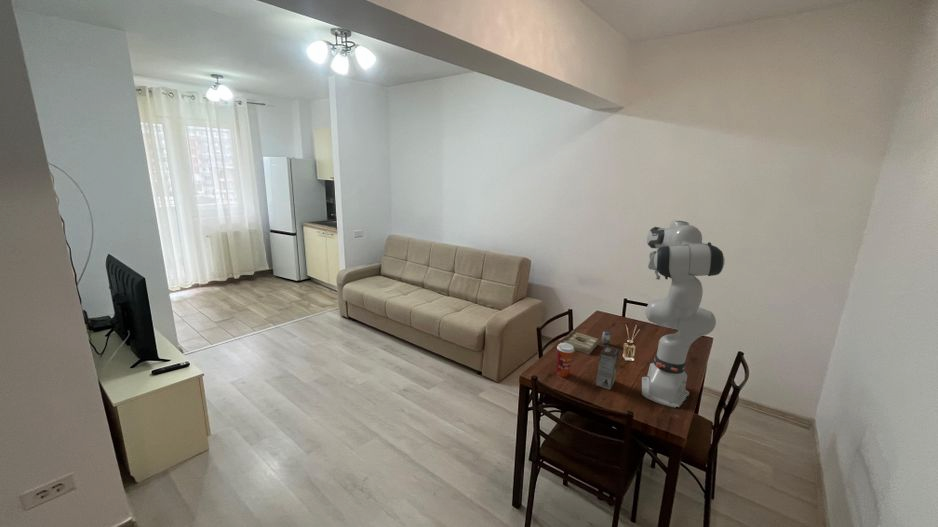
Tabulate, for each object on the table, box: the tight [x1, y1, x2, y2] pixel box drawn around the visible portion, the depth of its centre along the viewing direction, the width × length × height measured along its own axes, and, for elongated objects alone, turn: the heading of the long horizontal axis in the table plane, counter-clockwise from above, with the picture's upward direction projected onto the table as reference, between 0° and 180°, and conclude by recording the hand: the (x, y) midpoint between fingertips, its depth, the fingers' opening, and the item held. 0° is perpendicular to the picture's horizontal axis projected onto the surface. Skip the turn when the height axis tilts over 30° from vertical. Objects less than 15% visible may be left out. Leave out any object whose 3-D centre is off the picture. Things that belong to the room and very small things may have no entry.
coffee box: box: [595, 345, 621, 390], centre depth 163 cm, size 9×6×16 cm
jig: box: [563, 329, 599, 355], centre depth 199 cm, size 14×14×5 cm
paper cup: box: [555, 342, 575, 378], centre depth 169 cm, size 8×8×14 cm
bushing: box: [600, 330, 612, 346], centre depth 202 cm, size 4×4×7 cm
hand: (668, 281), depth 183 cm, fingers open, 8 cm apart
